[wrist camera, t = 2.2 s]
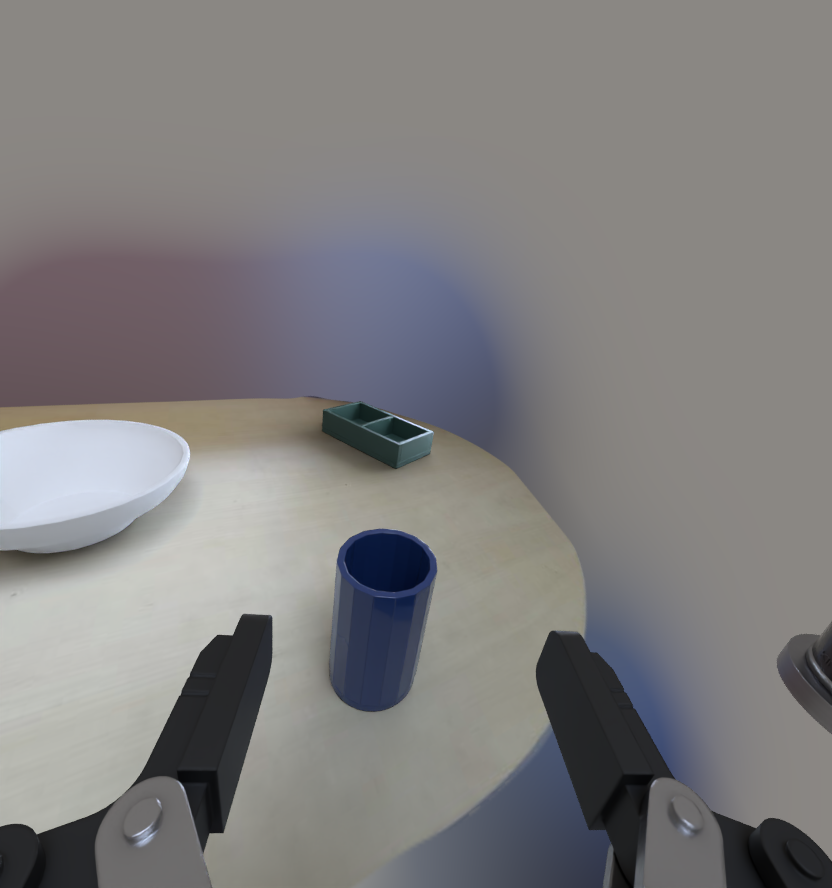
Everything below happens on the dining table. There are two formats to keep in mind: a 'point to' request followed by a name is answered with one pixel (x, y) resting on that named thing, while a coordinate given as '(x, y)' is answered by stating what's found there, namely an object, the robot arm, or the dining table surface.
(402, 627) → the cup
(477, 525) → the dining table surface
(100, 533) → the bowl
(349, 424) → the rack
